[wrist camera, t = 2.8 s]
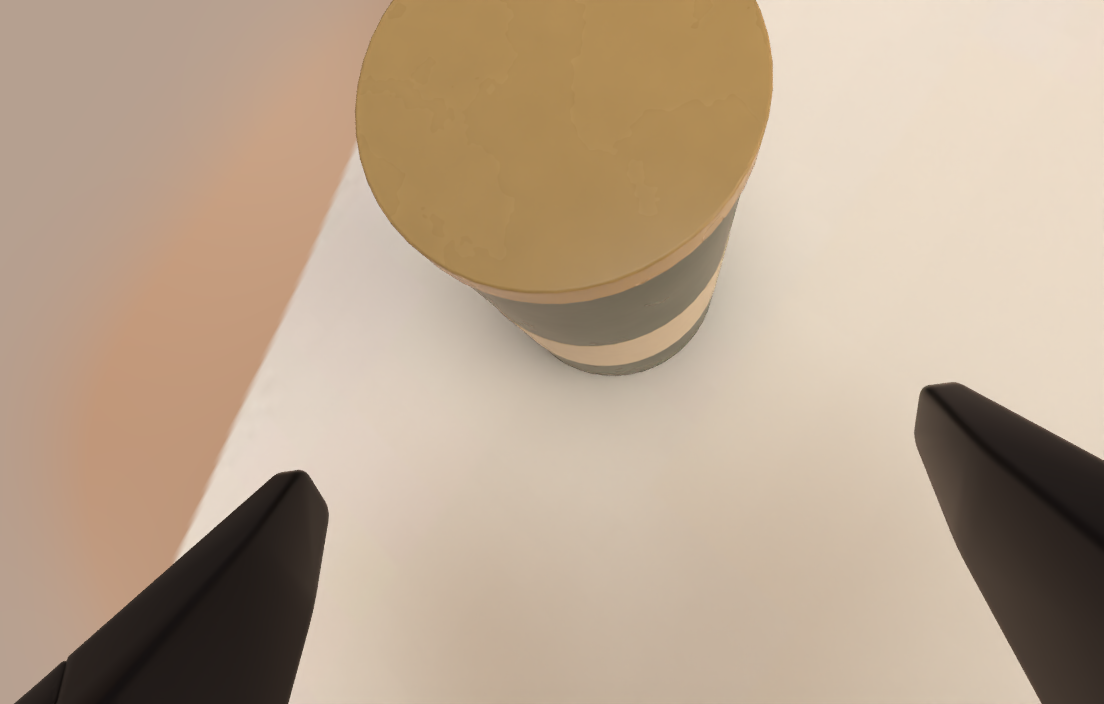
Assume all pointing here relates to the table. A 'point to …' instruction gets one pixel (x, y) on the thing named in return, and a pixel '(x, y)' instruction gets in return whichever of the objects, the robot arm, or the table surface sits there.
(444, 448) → the table surface
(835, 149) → the table surface
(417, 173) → the tea tin
